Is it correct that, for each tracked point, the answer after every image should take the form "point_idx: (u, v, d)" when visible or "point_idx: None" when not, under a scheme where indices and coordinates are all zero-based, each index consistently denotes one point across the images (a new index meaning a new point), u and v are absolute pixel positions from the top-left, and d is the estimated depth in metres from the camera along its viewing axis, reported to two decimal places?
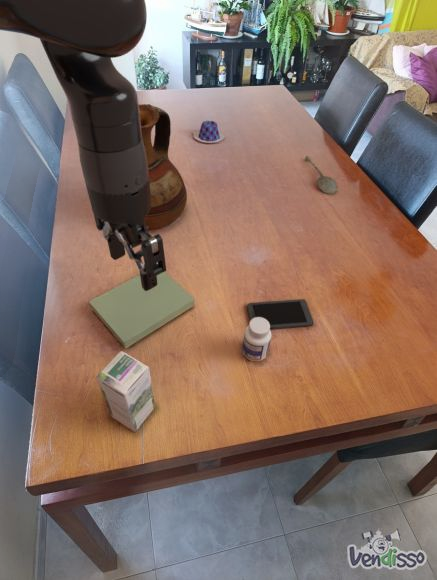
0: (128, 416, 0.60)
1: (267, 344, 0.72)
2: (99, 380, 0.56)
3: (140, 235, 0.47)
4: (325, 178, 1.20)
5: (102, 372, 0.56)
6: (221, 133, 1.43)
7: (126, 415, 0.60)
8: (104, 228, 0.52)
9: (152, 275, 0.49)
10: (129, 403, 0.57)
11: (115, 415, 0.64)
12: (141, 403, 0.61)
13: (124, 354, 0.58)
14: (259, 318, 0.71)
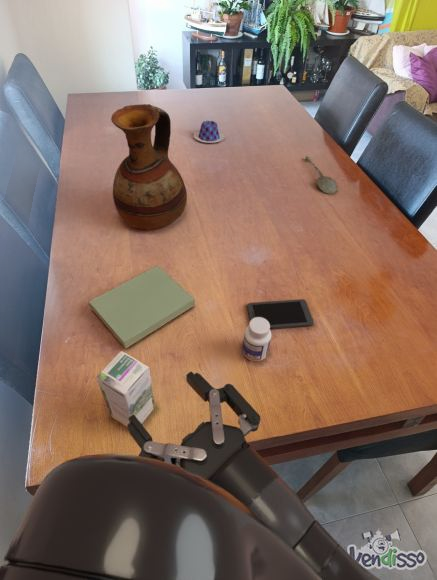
0: (128, 416, 0.60)
1: (267, 344, 0.72)
2: (99, 380, 0.56)
3: None
4: (325, 178, 1.20)
5: (102, 372, 0.56)
6: (221, 133, 1.43)
7: (126, 415, 0.60)
8: (219, 415, 0.42)
9: None
10: (129, 403, 0.57)
11: (115, 415, 0.64)
12: (142, 403, 0.61)
13: (124, 354, 0.58)
14: (259, 318, 0.71)
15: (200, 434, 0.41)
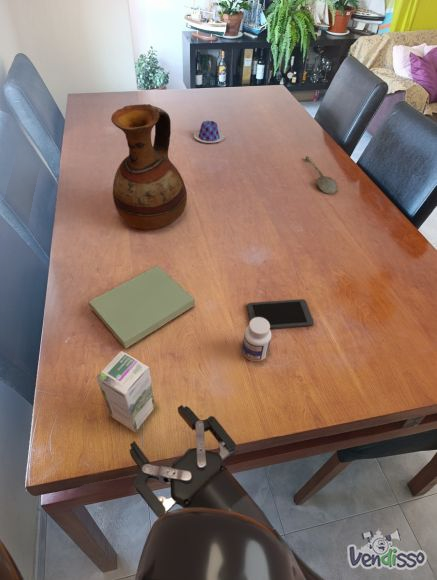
0: (128, 416, 0.60)
1: (267, 344, 0.72)
2: (99, 380, 0.56)
3: (173, 502, 0.49)
4: (325, 178, 1.20)
5: (102, 372, 0.56)
6: (221, 133, 1.43)
7: (126, 415, 0.60)
8: (203, 443, 0.53)
9: (135, 487, 0.50)
10: (129, 403, 0.57)
11: (115, 415, 0.64)
12: (141, 403, 0.61)
13: (124, 354, 0.58)
14: (259, 318, 0.71)
15: (187, 458, 0.52)
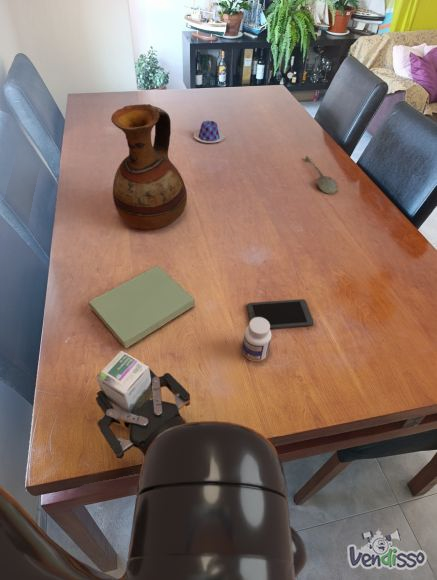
0: None
1: (267, 344, 0.72)
2: (99, 380, 0.56)
3: (130, 443, 0.54)
4: (325, 178, 1.20)
5: (102, 372, 0.56)
6: (221, 133, 1.43)
7: None
8: (159, 395, 0.58)
9: (99, 427, 0.55)
10: (129, 403, 0.57)
11: None
12: (141, 403, 0.61)
13: (124, 354, 0.58)
14: (259, 318, 0.71)
15: (146, 408, 0.58)
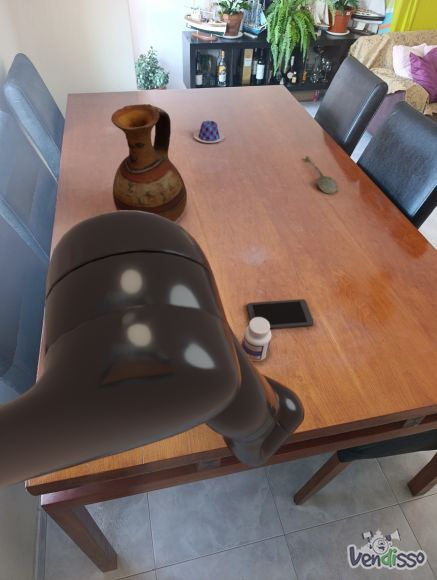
0: None
1: (267, 344, 0.72)
2: None
3: None
4: (325, 178, 1.20)
5: None
6: (221, 133, 1.43)
7: None
8: None
9: None
10: None
11: None
12: None
13: None
14: (259, 318, 0.71)
15: None
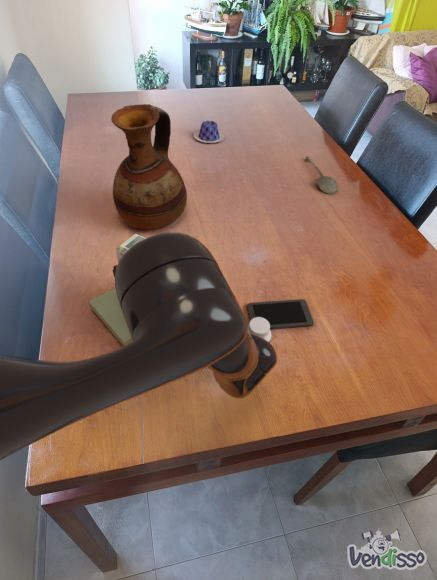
0: None
1: None
2: (118, 252, 0.71)
3: None
4: (325, 178, 1.20)
5: (120, 246, 0.71)
6: (221, 133, 1.43)
7: None
8: None
9: (116, 287, 0.69)
10: None
11: None
12: None
13: (137, 235, 0.73)
14: (259, 318, 0.71)
15: None
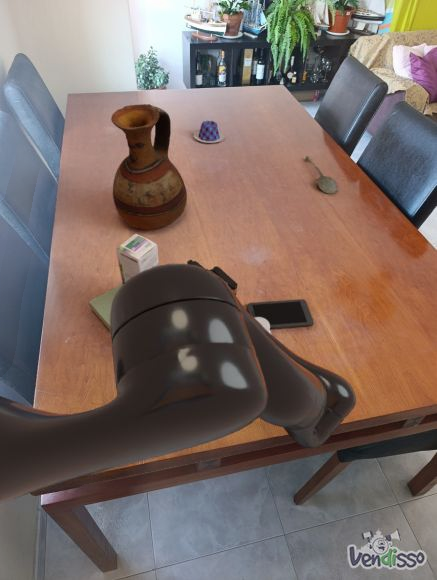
0: None
1: None
2: (118, 252, 0.71)
3: None
4: (325, 178, 1.20)
5: (120, 246, 0.71)
6: (221, 133, 1.43)
7: None
8: None
9: None
10: None
11: None
12: None
13: (137, 235, 0.73)
14: (259, 318, 0.71)
15: None
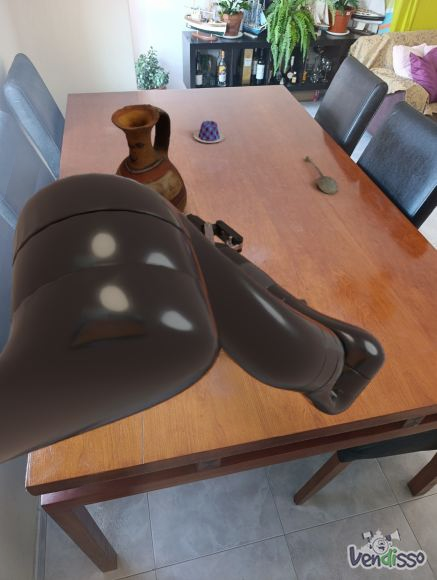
0: None
1: None
2: None
3: None
4: (325, 178, 1.20)
5: None
6: (221, 133, 1.43)
7: None
8: (212, 234, 0.55)
9: None
10: None
11: None
12: None
13: None
14: None
15: None
